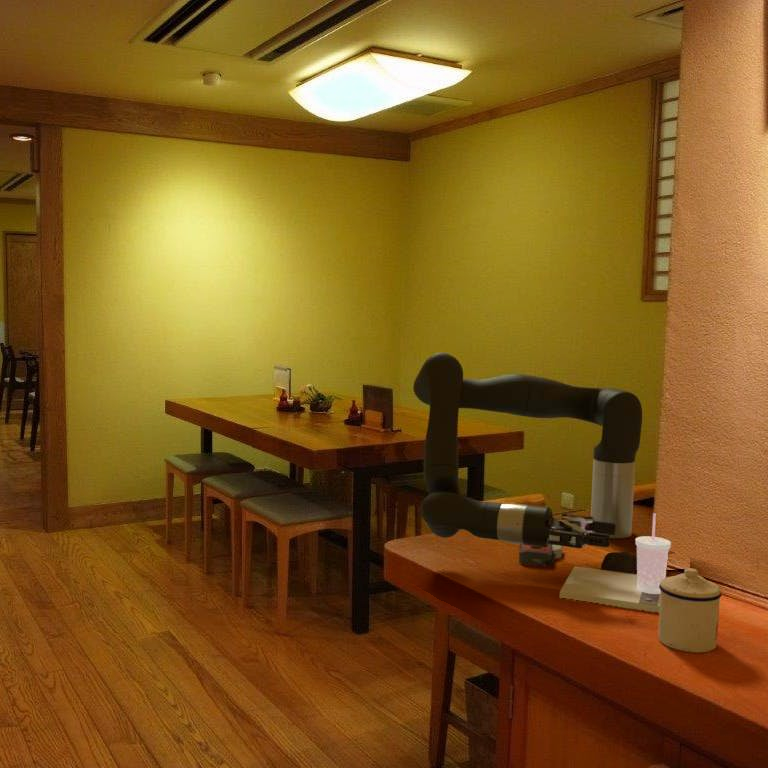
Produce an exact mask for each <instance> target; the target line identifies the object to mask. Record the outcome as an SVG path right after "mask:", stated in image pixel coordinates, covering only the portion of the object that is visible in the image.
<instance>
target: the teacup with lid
mask: <svg viewBox="0 0 768 768" xmlns="http://www.w3.org/2000/svg"><path fill="white" fill-rule="evenodd" d="M683 572H684V573H679V574H677V575H673V576H666V578H665V579H663V580H662V581H661V583H660V585H659V588H660V590H661V593H660V611H659V613H658V614H659V615H658V633H657V635H658V639H659V642H661V643H662V644H664V646H667V647H668V648H672V649H673V650H677V651H681V652H684V653H697V654H700V653H703V654H704V653H707V652H711V651H713V650H715V648H717V645H718V644H717V643H718V631H719V629H718V628H719V614H720V613H719V612H720V599H721V597H722V591H721V590H722V589H720V587H719V586H718V585H717V584H716V583H714V582H712V581H710V580H707V579H706V578H704V577H703V576H701V575H699V571H698V570H697V569H695V568H693V567H692V568H686V569H685V570H683Z"/></svg>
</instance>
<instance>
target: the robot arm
mask: <svg viewBox="0 0 768 768" xmlns="http://www.w3.org/2000/svg"><path fill="white" fill-rule="evenodd" d="M412 387H413V392H414V395H415V396H416V397H417V399H418V400H419V402H420V401H421V402H422V403H424V404H425V405H428V406H429V414H428V422H427V427H426V428H427V429H426V432H425V433H426V435H425V439H424V449H423V478H424V483H425V486H426V489H427V493H428V495H426V497H424V498H423V500H422V502H421V505H420V513H421V514H420V515H421V517H422V519H423V521H424V522H425V524H426V525H427V526H428V528H429V530H430V531H431V532H432V533H433V534H434V535H436V536H437V537H439V538H446V539H447V538H451V537H453V536H454V535H456V534H457V533H458V532H459V531H460V530H463V531H467V532H469V533H470V534H471V535H473V536H474V537H477V538H482V539H488V540H495V541H496V540H497V541H503V542H506V543H510V544H517V545H520V544H523V545H531V546H538V547H547V546H548V545H549V544H551V545H559V546H562V547H566V548H574V549H575V548H576V549H583V547H588V546H593V547H594V546H595V547H602V548H609V547H610V545H611V539H626V538H630V537H631V536H632V528H633V526H632V525H633V513H634V512H633V511H634V510H633V509H634V508H633V507H634V490H635V473H636V472H635V469H636V455H637V452H638V450H639V448H640V446H641V445H640V444H641V435H642V424H643V407H642V403H641V400H640V399H639V398H638V397H637V395H636V394H634V393H632V392H630V391H627V390H624V389H623V390H622V389H618V388H612V387H610V388H609V387H607V388H606V387H605V388H604V387H587V386H586V387H585V386H584V387H583V386H575V385H571V384H568V383H563V382H561V381H558V380H555V379H550V378H546V377H542V376H536V375H535V376H534V375H530V374H525V373H524V374H522V373H510V374H504V375H498V376H493V377H488V378H483V379H482V378H480V379H471V378H464V370H463V365H462V364H461V362H460V361H459V360H458V359H457V358H456V357H455V356H454V355H452V354H449V353H446V352H437V353H434V354H432V355H431V356H429V357H428V358H427V359H426V360H425V361H424V363H423V365H422V366H421V368H420V370H419V372H418V374H417V375H416V377H415V380H414V382H413V386H412ZM460 409H471V410H481V411H487V412H493V413H495V412H496V413H501V414H509V415H515V416H520V417H527V418H534V419H535V418H536V419H557V418H568V419H569V418H571V419H574V420H575V419H576V420H579V421H585V422H588V423H592V424H594V425H595V424H596V425H598V426H600V427H602V429H601V439H600V441H599V443H597V444H596V445H595V446H594V448H593V459H592V460H593V461H592V478H591V479H592V480H591V481H592V482H591V501H590V503H591V504H590V515H580V514H579V515H578V514H568V513H562V514H561V517H559V518H558V517H557V518H555V517H554V516H553V510H552V508H551V507H549V506H542V505H534V504H525V503H524V504H523V503H515V502H514V503H502V502H493V501H481V500H477V499H474V498H471V497H469V496H465V495H463V494H462V495H461V491H460V486H459V484H460V483H459V473H460V472H459V445H458V442H459V441H458V435H459V433H458V431H459V411H460Z"/></svg>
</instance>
